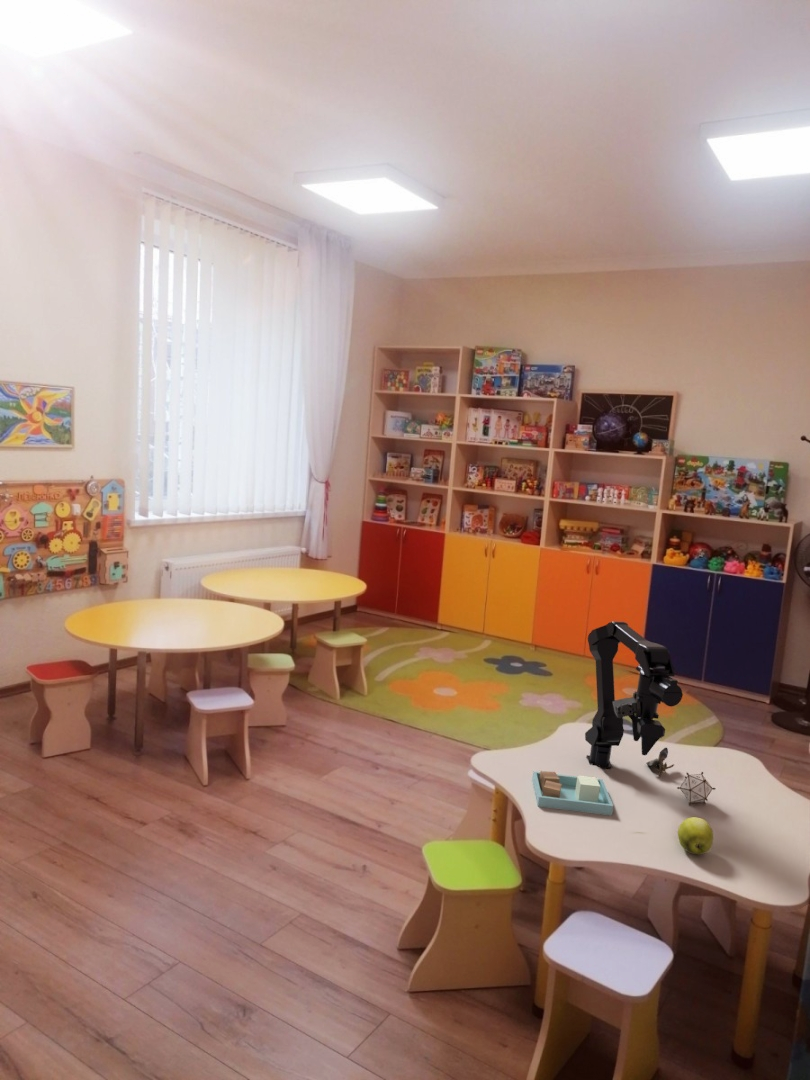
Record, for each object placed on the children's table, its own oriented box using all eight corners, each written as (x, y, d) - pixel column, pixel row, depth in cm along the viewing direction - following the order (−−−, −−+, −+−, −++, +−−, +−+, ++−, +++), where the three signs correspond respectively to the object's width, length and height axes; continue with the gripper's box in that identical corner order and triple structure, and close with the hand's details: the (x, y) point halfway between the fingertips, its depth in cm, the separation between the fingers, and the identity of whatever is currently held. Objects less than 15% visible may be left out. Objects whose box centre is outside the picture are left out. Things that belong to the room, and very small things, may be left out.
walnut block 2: (544, 794, 203) (546, 780, 203) (559, 798, 202) (561, 784, 202) (541, 801, 200) (543, 786, 199) (557, 805, 198) (559, 790, 198)
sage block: (574, 793, 206) (577, 775, 205) (593, 795, 206) (596, 777, 205) (578, 802, 201) (580, 784, 200) (597, 804, 201) (600, 786, 200)
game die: (684, 815, 209) (665, 783, 209) (698, 796, 215) (680, 764, 215) (713, 813, 202) (693, 780, 202) (726, 793, 208) (707, 761, 208)
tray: (531, 782, 211) (533, 771, 211) (600, 790, 210) (602, 779, 210) (537, 808, 197) (539, 797, 196) (611, 817, 196) (613, 806, 196)
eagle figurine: (680, 775, 222) (672, 757, 230) (670, 756, 220) (663, 738, 229) (654, 785, 224) (648, 766, 232) (644, 765, 222) (638, 747, 231)
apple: (706, 844, 187) (711, 813, 186) (713, 865, 179) (719, 832, 177) (672, 838, 189) (678, 807, 188) (678, 858, 180) (683, 826, 179)
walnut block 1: (538, 785, 208) (540, 771, 208) (553, 785, 209) (555, 771, 208) (542, 792, 205) (544, 778, 204) (557, 793, 205) (559, 778, 204)
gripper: (610, 677, 216) (602, 730, 218) (625, 701, 197) (616, 759, 200) (651, 681, 215) (643, 735, 218) (669, 706, 197) (660, 764, 199)
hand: (639, 747), depth 209 cm, fingers open, 9 cm apart
